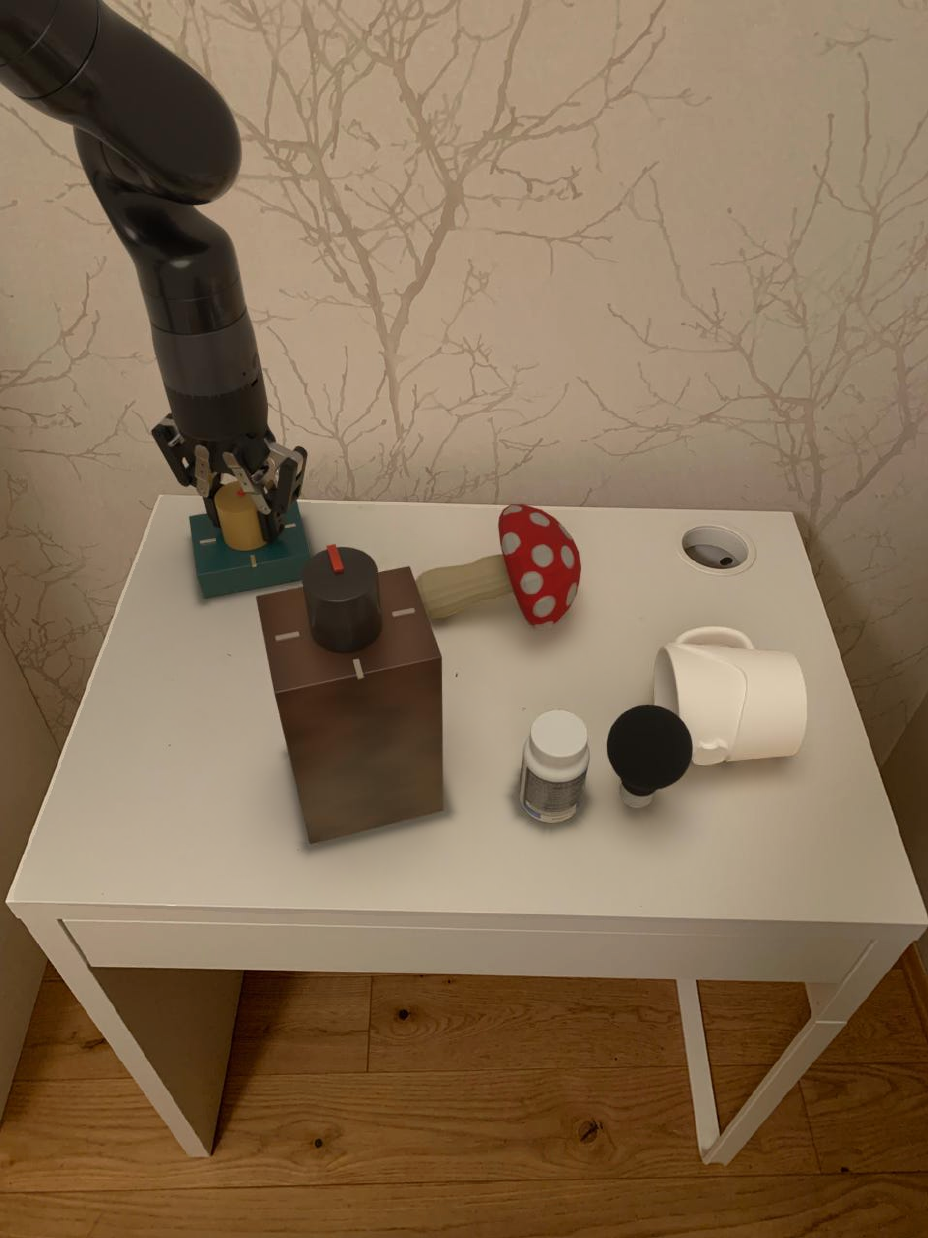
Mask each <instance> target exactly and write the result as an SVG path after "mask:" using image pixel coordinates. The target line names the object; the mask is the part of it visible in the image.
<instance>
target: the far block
mask: <svg viewBox="0 0 928 1238" xmlns="http://www.w3.org/2000/svg"><path fill="white" fill-rule="evenodd" d="M283 515H284V521H285V529H284V530H283V531H282V533H281V534H280V535H279V537H278V538H277V539H275V540H274V542H273V543H268V542H267V543H266V544H265V545H264V546H262V547H260V548H258V549H254V550H249V551H240V550H236V549H233V548H231V547H229V546H228V545H227V544H226V543H225V541H224V537H223V533H222V529H220V528H217V527H214V526H213V523H212V520H210V519H209V517H208V516H207V512H206V513H205V512H204V513H200V514H194V515H190V516H188V520H189V529H190V536H191V545H192V552H193V557H194V558H193V559H194V565H195V573H196V578H197V582H198V585H199V589H200V591H201V595H202V598H203V599H208V598H213V597H218V596H219V597H220V596H223V595H229V594H233V593H234V594H235V593H239V592H245V591H250V590H255V589H261V588H264V587H265V588H266V587H269V586H276V585H280V584H285V583H290V582H296V581H302V580H301V574H302V570H303V567H304V566H305V564H306V563H307V561H308V560H309V559H310V558H311V557H312V554H311V550H310V546H309V542H308V538H307V534H306V530H305V526H304V523H303V519H302V515H301V512H300V508H299V504H298V499H297V500H296V501H295V502H294V503H293V505H292V506H291V507H290V509H289V511H288V512H287V513H286V514H283Z"/></svg>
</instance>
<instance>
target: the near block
mask: <svg viewBox="0 0 928 1238" xmlns="http://www.w3.org/2000/svg"><path fill="white" fill-rule="evenodd" d="M378 578H379V590H380V602H381V614H382V628H381V631H380V633H379V635H378V636H377V638H376V639H375V640H374V641H373V642H372V643H371V644H369V645H368V646H366V647H364V648H362V649H359V650H356V651H351V652H336V651H331V650H328V649H326V648H324V647H322V646H321V645H319V644H318V643H317V642H316V641H315V640H314V638H313V637H312V635H311V632H310V626H309V620H308V615H307V609H306V603H305V597H304V592H303V586H299V587H295V588H289V589H284V590H280V591H274V592H270V593H269V592H268V593H264V594H259V595H256V596H255V601H256V605H257V610H258V616H259V621H260V627H261V632H262V637H263V643H264V647H265V652H266V658H267V663H268V668H269V669H268V670H269V673H270V679H271V684H272V688H273V689H272V690H273V694H274V698H275V703H276V706H277V712H278V715H279V719H280V724H281V728H282V732H283V737H284V740H285V745H286V749H287V753H288V756H289V761H290V766H291V770H292V775H293V779H294V782H295V787H296V790H297V796H298V799H299V804H300V809H301V812H302V817H303V820H304V825H305V829H306V834H307V837H308V842H309V844H310V845H311V844H315V843H320V842H322V841H327V840H331V839H334V838H339V837H343V836H347V835H351V834H354V833H355V834H356V833H359V832H363V831H366V830H371V829H375V828H378V827H383V826H387V825H391V824H395V823H398V822H403V821H407V820H411V819H414V818H418V817H423V816H426V815H427V816H428V815H431V814H435V813H438V812H442V811H444V734H443V733H444V729H443V724H444V721H443V716H444V715H443V655H442V652H441V650H440V648H439V644H438V641H437V639H436V636H435V633H434V631H433V628H432V625H431V621H430V619H429V617H428V616H427V613H426V610H425V608H424V605H423V602H422V599H421V596H420V593H419V591H418V588H417V585H416V582H415V580H416V579H415V577H414V573H413V571H412V569H411V566H409V565H407V566H402V567H397V568H392V569H387V570H382V571H378Z"/></svg>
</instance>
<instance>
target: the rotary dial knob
mask: <svg viewBox="0 0 928 1238" xmlns="http://www.w3.org/2000/svg"><path fill="white" fill-rule="evenodd" d="M378 572H379V568H378V565H377V563H376V561H375V560H374V559H373V558H372V557H371V555H369V554H368V553H366V552H365V551H363V550H361V549H359V548H355V547H350V546H348V547H347V546H337V544H336V543H334V544H329V545H326V548H325V549H324V550H321V551H319V552H317V553H315V554H313V556H311V558H310V559H309V560H308V561H307V563H306V564H305V566H304V567H303V570H302V574H301V580H300V581H301V585H302V586H301V587H303V592H304V597H305V603H306V609H307V615H308V620H309V626H310V632H311V635H312V637H313V638H314V640H315V641H316V642H317V643H318V644H319V645H321V646H322V647H324V648H326V649H328V650H331V651H336V652H351V651H356V650H359V649H362V648H364V647H366V646H368V645H369V644H371V643H372V642H373V641H374V640H375V639H376V638H377V636H378V635H379V633H380V631H381V628H382V614H381V602H380V590H379V578H378Z"/></svg>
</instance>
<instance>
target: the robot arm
mask: <svg viewBox="0 0 928 1238" xmlns="http://www.w3.org/2000/svg"><path fill="white" fill-rule="evenodd" d="M0 85H2V86H3V87H4V88H5V89H7V90H8V91H9V92H10V93H12V94H13V95H14V96H15V97H17V98H18V99H20V100H21V101H22V102H24V103H25V104H26V105H28V106H30V107H31V108H32V109H34V110H36V111H37V112H39V113H41V114H43V115H45V116H47V117H49V118H52V119H54V120H57V121H59V122H61V123H65V124H67V125H70V126H72V132H73V133H72V134H73V140H74V146H75V148H76V152H77V155H78V159H79V161H80V165H81V166H82V169H83V171H84V174H85V177H86V178H87V181H88V182H89V185H90V186H91V189H92V191H93V192H94V194H95V196H96V199H97V200H98V202H99V204H100V206H101V208H102V210H103V211H104V213H105V215H106V217H107V219H108V221H109V223H110V225H111V226H112V229H113V230H114V232H115V234H116V236H117V237H118V239H119V241H120V242H121V245H122V246H123V247H124V249H125V250H126V252H127V254H128V255H129V257H130V259H131V260H132V263H133V265H134V267H135V268H134V269H135V271H136V275H137V281H138V285H139V288H140V291H141V295H142V299H143V303H144V307H145V311H146V313H147V317H148V321H149V326H150V331H151V332H150V333H151V334H150V335H151V341H152V346H153V352H154V356H155V358H156V362H157V366H158V369H159V373H160V376H161V380H162V383H163V387H164V391H165V395H166V398H167V402H168V405H169V409H170V412H168V413H167V414H166V415H165V416H164V417H163V418H162V419H161V420H160V421H159V422H158V423H157V424H155V426H154V427H152V429H151V431H150V433H151V436H152V437H153V439H154V441H155V443H156V445H157V446H158V448H159V451H160V452H161V454H162V456H163V457H164V459H165V461H166V463H167V464H168V466H169V468H170V470H171V472H172V473H173V475H174V477H175V479H176V481H177V482H178V484H180V486H182V487H184V488H188V487H189V486H192V487H193V488H195V491H196V492H197V494H198V495H199V496H201V498H202V501H203V504H204V509H205V512H206V513H207V516H208V517H209V519H210V520H212V523H213V526H214V527H217V528H220V529H221V525H220V521H219V517H218V513H217V509H216V505H215V501H214V498H215V494H216V492H217V491H218V490H219V489H220V488H221V487H222V486H224V485H226V484H225V483H222V482H223V481H224V477H225V474H227V475H230V476H232V477H233V478H236V481H238V482H239V484H240V486H241V487H242V489H243V491H244V493H246V494H250V495H251V497H252V499H253V501H254V502H255V504H256V506H257V508H258V511H257V515H258V520H259V524H260V529H261V533H262V538H263V541H265V542H268V543H273V542H274V540H275V539H277V538H278V537H279V535H280V534H281V533H282V531H283V530H284V529H285V521H284V515H283V514H286V513H287V512H288V511H289V509H290V507H291V506H292V505H293V503H294V502H295V501H296V500H297V501H298V499H299V498H300V497H301V495H302V489H303V485H304V479H305V472H306V466H307V463H308V462H307V461H308V457H309V455H308V451H307V449H306V448H304V447H303V446H301V445H297V446H295V447H294V448H292V449H290V448H288V447H286V446H285V445H282V444H280V443H278V442H277V439H276V436H275V434H274V432H272V429H271V428H270V426H269V422H268V417H269V401H268V396H267V391H266V386H265V380H264V379H265V378H264V375H263V374H264V373H263V368H262V364H261V358H260V352H259V348H258V342H257V337H256V332H255V328H254V326H253V322H252V319H251V317H250V316H251V315H250V314H249V310H248V307H247V303H246V302H247V301H246V298H245V291H244V287H243V281H242V276H241V271H240V264H239V259H238V255H237V251H236V247H235V244H234V242H233V239H232V238H231V236H230V234H229V233H228V232H227V230H226V229H225V228H224V227H223V226H221V225H220V224H218V223H217V222H216V221H214V220H213V219H211V218H209V217H208V216H207V215H205V214H203V213H202V212H201V211H200V210H199V209H197V208H196V206H197V207H198V206H203V205H208V204H211V203H214V202H216V201H218V200H219V199H221V198H222V197H223V196H225V195H226V194H227V193H228V192H229V191H230V190H231V189H232V187H233V186H234V185H235V183H236V182H237V180H238V179H237V178H238V177H239V173H240V170H241V166H242V160H243V144H242V138H241V133H240V130H239V127H238V123H237V121H236V118H235V117H234V114H233V112H232V109H230V107H229V105H228V103H227V102H226V101H225V99H224V98H223V96H222V95H221V94H220V92H219V91H218V90H217V89H216V88H215V86H214V85H212V83H210V81H209V80H208V79H206V78H205V77H204V76H203V75H202V74H201V73H199V71H197V70H196V69H195V68H194V67H193V66H191V65H190V64H189V63H188V62H186V61H184V60H183V59H182V58H181V57H179V56H178V55H177V54H176V53H174V52H172V51H171V50H170V49H169V48H168V47H166V46H164V45H163V44H162V43H160V42H159V41H158V40H157V39H155V38H154V37H152V36H151V35H150V34H148V33H147V32H145V31H144V30H142V29H141V28H140V27H138V26H136V25H135V24H133V23H132V22H130V21H129V20H127V19H126V18H124V17H123V16H122V15H120V14H119V13H117V12H116V11H115V10H114V9H112V8H111V7H110V6H109V5H108V4H107V3H106V2H105V1H104V0H0ZM184 459H185V461H186V464H187V466H185V464H184V461H183V460H184ZM277 476H278V479H277V478H276V477H277ZM265 489H266V490H265ZM264 490H265V492H264Z"/></svg>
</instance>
